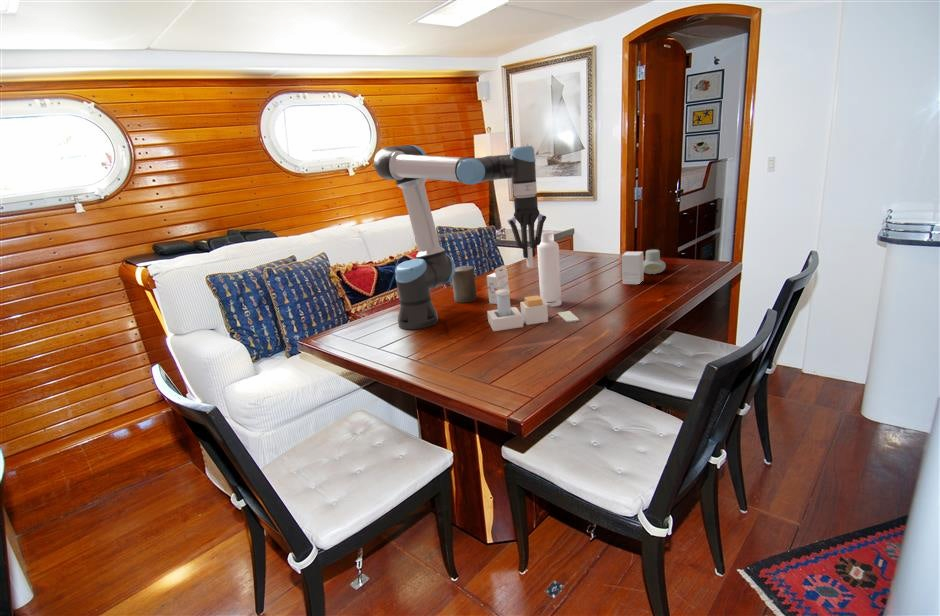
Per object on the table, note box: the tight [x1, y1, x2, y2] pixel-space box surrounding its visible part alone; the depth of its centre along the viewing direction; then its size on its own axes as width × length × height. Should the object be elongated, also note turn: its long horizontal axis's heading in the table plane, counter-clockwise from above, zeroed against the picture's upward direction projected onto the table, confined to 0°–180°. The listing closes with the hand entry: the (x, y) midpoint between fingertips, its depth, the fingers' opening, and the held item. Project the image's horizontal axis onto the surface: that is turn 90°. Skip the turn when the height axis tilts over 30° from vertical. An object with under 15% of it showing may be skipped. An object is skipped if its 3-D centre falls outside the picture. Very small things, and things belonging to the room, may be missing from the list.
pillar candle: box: [451, 265, 478, 304], centre depth 203 cm, size 10×10×15 cm
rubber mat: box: [557, 310, 580, 323], centre depth 170 cm, size 10×10×1 cm
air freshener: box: [643, 249, 667, 275], centre depth 213 cm, size 11×8×10 cm
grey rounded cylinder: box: [496, 289, 511, 317], centre depth 166 cm, size 5×5×12 cm
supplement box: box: [621, 251, 644, 285], centre depth 202 cm, size 7×7×13 cm
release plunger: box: [523, 295, 542, 307], centre depth 168 cm, size 5×5×8 cm
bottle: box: [536, 230, 562, 308], centre depth 183 cm, size 8×8×28 cm
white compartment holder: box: [486, 300, 549, 332], centre depth 168 cm, size 20×10×7 cm, turn 98°
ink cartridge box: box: [486, 264, 510, 305], centre depth 196 cm, size 9×5×15 cm, turn 143°
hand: (529, 266), depth 163 cm, fingers closed
